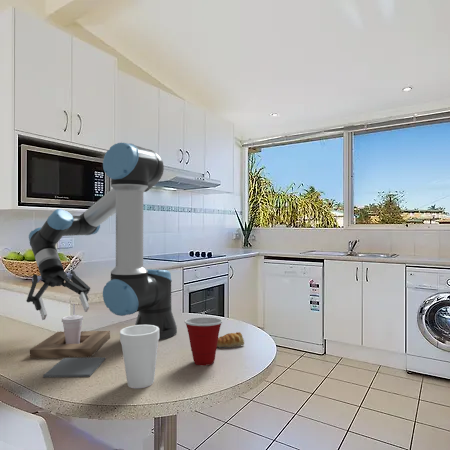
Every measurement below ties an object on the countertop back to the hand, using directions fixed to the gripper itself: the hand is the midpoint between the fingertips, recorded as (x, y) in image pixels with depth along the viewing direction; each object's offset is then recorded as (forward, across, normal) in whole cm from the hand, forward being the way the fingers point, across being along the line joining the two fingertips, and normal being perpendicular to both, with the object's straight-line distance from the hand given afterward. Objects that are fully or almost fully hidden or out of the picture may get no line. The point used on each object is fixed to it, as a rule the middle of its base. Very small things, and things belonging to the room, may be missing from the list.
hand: (66, 313), depth 118 cm
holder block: (+10, 0, -5) cm, 11 cm away
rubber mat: (+22, +6, +8) cm, 24 cm away
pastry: (+35, -36, +20) cm, 54 cm away
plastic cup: (+38, -21, +23) cm, 50 cm away
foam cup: (+37, -1, +22) cm, 44 cm away
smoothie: (+10, 0, -5) cm, 11 cm away
